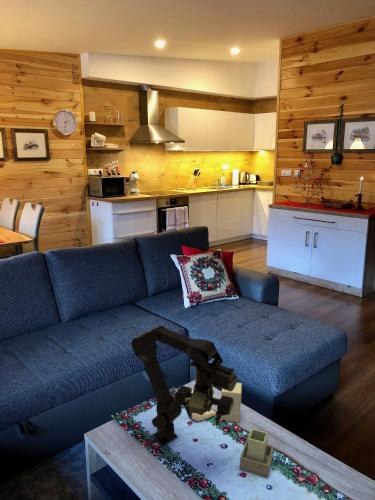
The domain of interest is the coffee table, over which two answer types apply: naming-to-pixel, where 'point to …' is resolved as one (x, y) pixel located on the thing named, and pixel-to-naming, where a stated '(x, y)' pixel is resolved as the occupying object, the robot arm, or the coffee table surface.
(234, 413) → the supplement box
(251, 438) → the beige open box
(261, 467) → the box
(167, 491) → the coffee table surface
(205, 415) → the seated beast figurine
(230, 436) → the coffee table surface
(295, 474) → the coffee table surface
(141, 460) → the coffee table surface
